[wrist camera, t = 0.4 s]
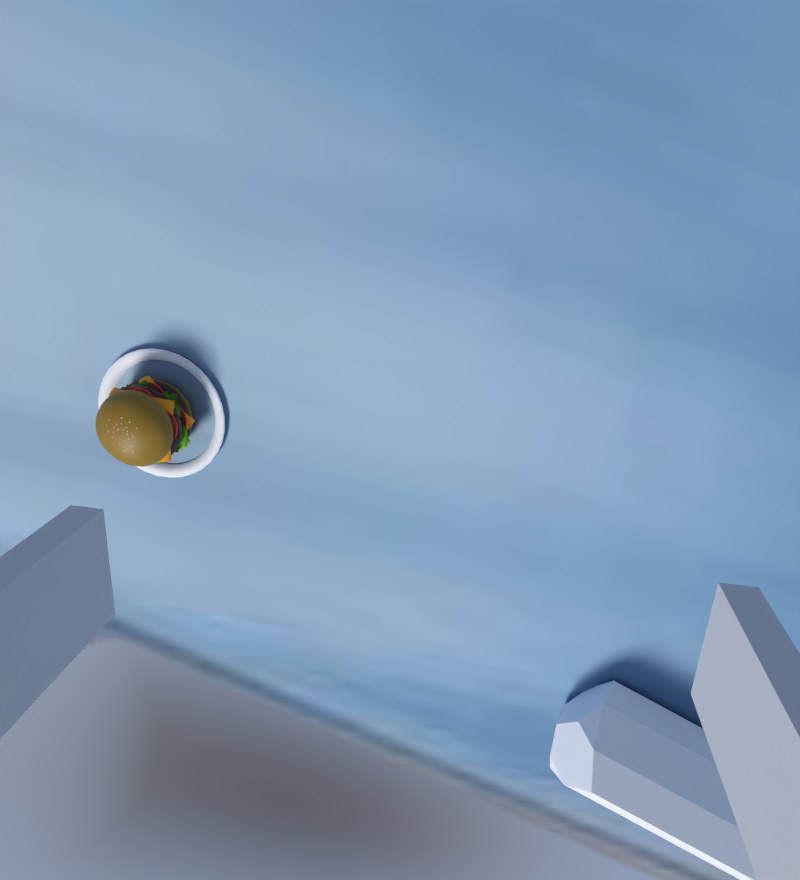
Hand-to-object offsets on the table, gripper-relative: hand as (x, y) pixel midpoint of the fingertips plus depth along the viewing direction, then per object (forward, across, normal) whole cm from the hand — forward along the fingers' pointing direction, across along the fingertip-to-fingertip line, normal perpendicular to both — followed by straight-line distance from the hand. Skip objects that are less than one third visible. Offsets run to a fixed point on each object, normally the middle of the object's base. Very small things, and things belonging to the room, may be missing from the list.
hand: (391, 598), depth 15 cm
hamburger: (+29, -20, -7) cm, 36 cm away
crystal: (+28, +19, -30) cm, 45 cm away
